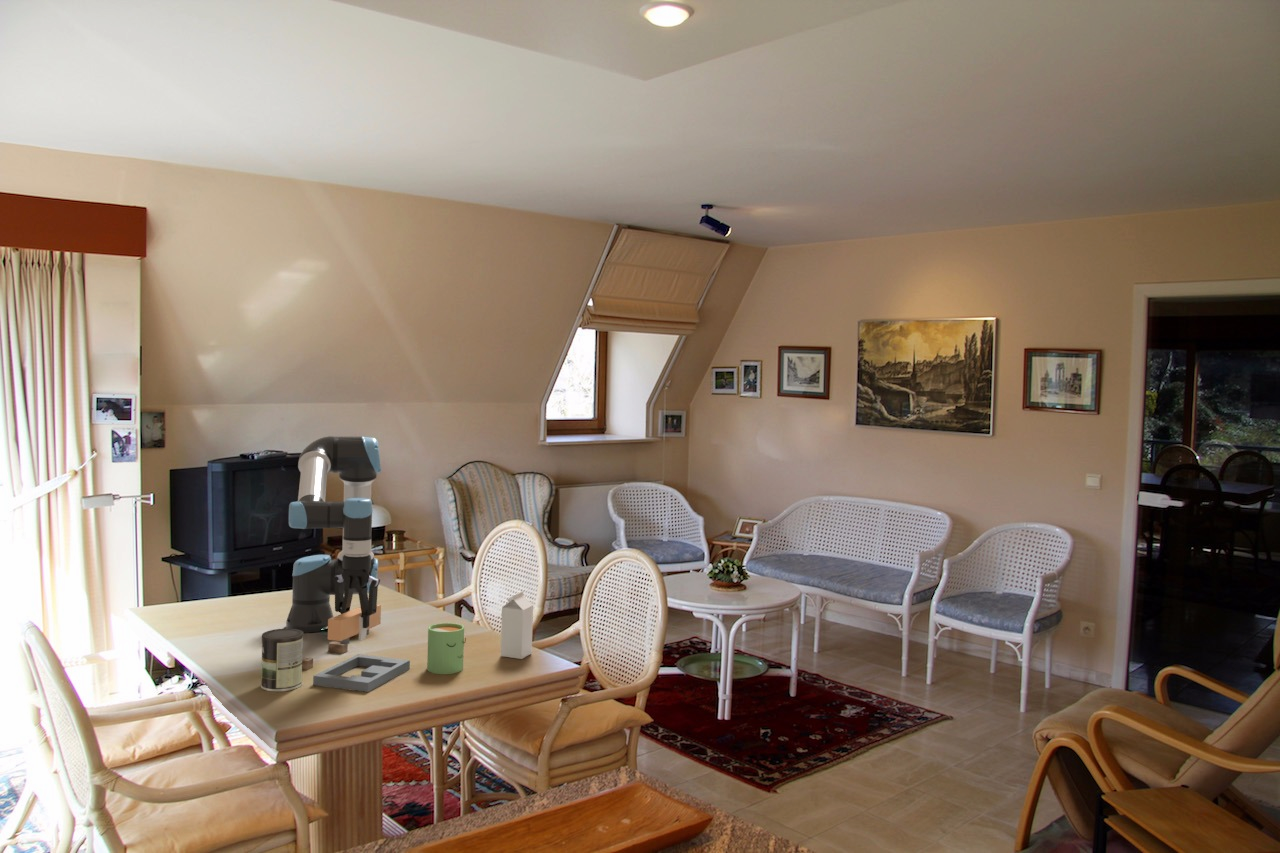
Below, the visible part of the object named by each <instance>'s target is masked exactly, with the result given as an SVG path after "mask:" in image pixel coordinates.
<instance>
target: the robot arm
mask: <svg viewBox="0 0 1280 853" xmlns="http://www.w3.org/2000/svg"><path fill="white" fill-rule="evenodd" d="M379 447H380V445H379V441H378V439H376V438H375V437H372V436H371V437H369V436H368V437H367V436H334V435H328V436H323V437H321V438H318V439H316V440H313V441H312V442H311V443H309V444H308V445H307V446H306V447H305V448H304V449H303V450H302V451H301V453H300V455H299V457H298V458H299V459H298V464H297V468H298V470H299V472H300V477H299V487H298V488H299V489H298V496H297V501H291V502H290V503H289V505H288V526H289V527H290V528H292V529H302V530H305V529H306V530H307V529H342V550H341V551H340V552H338V554H337V559H332V557H331V556H330V554H313V555H310V556H309V555H308V556H303V557H301V558H298V559H297V560H295V562H294V563H293V568H292V569H293V570H292V575H291V576H292V594H291V596H292V598H291V599H292V601H291V603H292V604H291V606H290V609H289V610H290V611H289V613H288V616H287V618H286V621H285V629H298V630H301V631H303V633H318V632H321V631H320V630H321V629H322V628H323V627H325V626H328V619H330V618H333V617H335V616H334V614H333V610H332V606H331V601H330V600H331V599H330V598H331V596H334V612H337V613H340V614H343V613H346V612H348V611H351V604H352V600H353V596H354V595H358V599H359V600H358V601H359V607H361V612H362V615H361V616H360V617H359V634H358V641H360V642H361V641H363V640H366V639H367V636H368V635H367V628H368V627H369V617H370V615H372V614H374V613H376V609H377V605H378V590H379V589H378V588H379V585H380V582H381V579H380V578H378V570H379V569H378V568H379V559H378V558H375V554H374V552H373V551H372V530H373V528H372V527H373V511H374V510H373V501H372V484H373V482H374V481H376V480H377V474H381V473H382V467H381V458H380V457H381V456H380V455H381V454H380V448H379ZM328 473H333V474H334V473H335V474H337V473H338V478H339V480H341V482H343V501H326V493H327V490H326V489H327V478H328V477H327V476H328Z"/></svg>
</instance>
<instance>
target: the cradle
mask: <svg viewBox="0 0 1280 853" xmlns="http://www.w3.org/2000/svg"><path fill="white" fill-rule="evenodd" d="M348 647H349V644H340V641H335V640H332V641H330V642H329V643H328V645H327V652H329V653H336V654H345V653H347V652H348V651H349V650H348ZM313 667H314V658H313V657H303V656H302V670H306V671H309V670H310V669H313Z"/></svg>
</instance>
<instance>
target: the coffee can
mask: <svg viewBox="0 0 1280 853" xmlns="http://www.w3.org/2000/svg"><path fill="white" fill-rule="evenodd" d="M303 636H304V632H303V631H301V630H298V629H286V628H276V629H270V630H267V631H264V632H263V633H261V680H260V681H261V683H260V684H261V685H260V688H261V689H262V690H263V691H266V692H275V693H281V692H287V691H294V690H296V689H299V688H301V686H302V685H303V682H302V681H303V680H302V678H303V677H302V676H303V669H302V657H303V644H304V643H303Z"/></svg>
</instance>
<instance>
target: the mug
mask: <svg viewBox="0 0 1280 853" xmlns="http://www.w3.org/2000/svg"><path fill="white" fill-rule="evenodd" d="M466 640H467V638H466V637H465V625H464V624H462V623H461V624H460V623H456V622H453V623H452V622H441V623H440V622H438V623H435V624H431V625H429V626H428V628H427V658H426V659H427V665H426V666H427V667H426V670H427V671H428V672H430V674H431V673H432V674H435V675H436V674H437V675H452V674H457V673H460V672H462V671H463V670H464V650H465V649H464V647H465V643H466V642H467V641H466Z"/></svg>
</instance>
